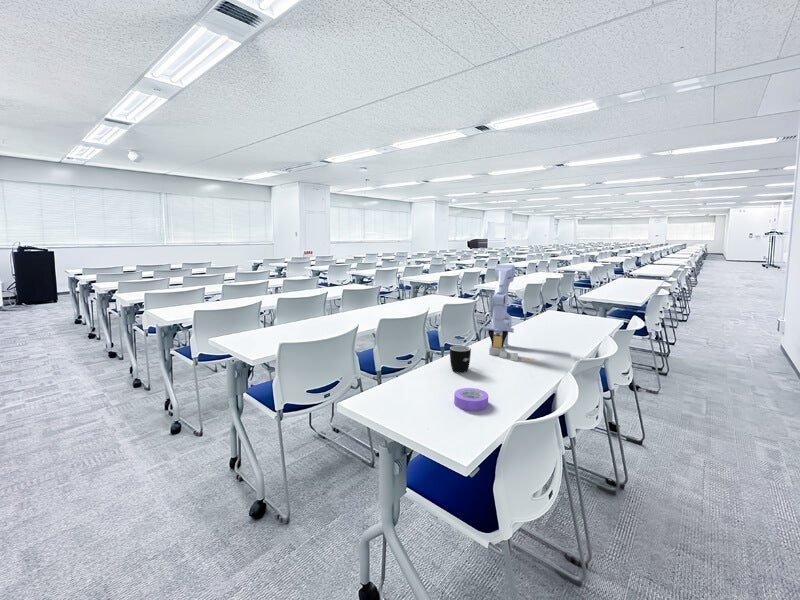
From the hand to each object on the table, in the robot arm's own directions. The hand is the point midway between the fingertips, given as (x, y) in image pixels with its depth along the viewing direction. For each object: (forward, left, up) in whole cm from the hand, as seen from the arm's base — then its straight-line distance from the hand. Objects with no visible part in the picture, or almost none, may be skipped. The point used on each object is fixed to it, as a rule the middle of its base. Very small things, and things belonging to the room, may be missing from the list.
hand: (497, 345), depth 186 cm
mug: (+25, -14, -5) cm, 29 cm away
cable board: (+3, +7, -5) cm, 9 cm away
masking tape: (+59, -6, -5) cm, 60 cm away
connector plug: (0, 0, -2) cm, 2 cm away
